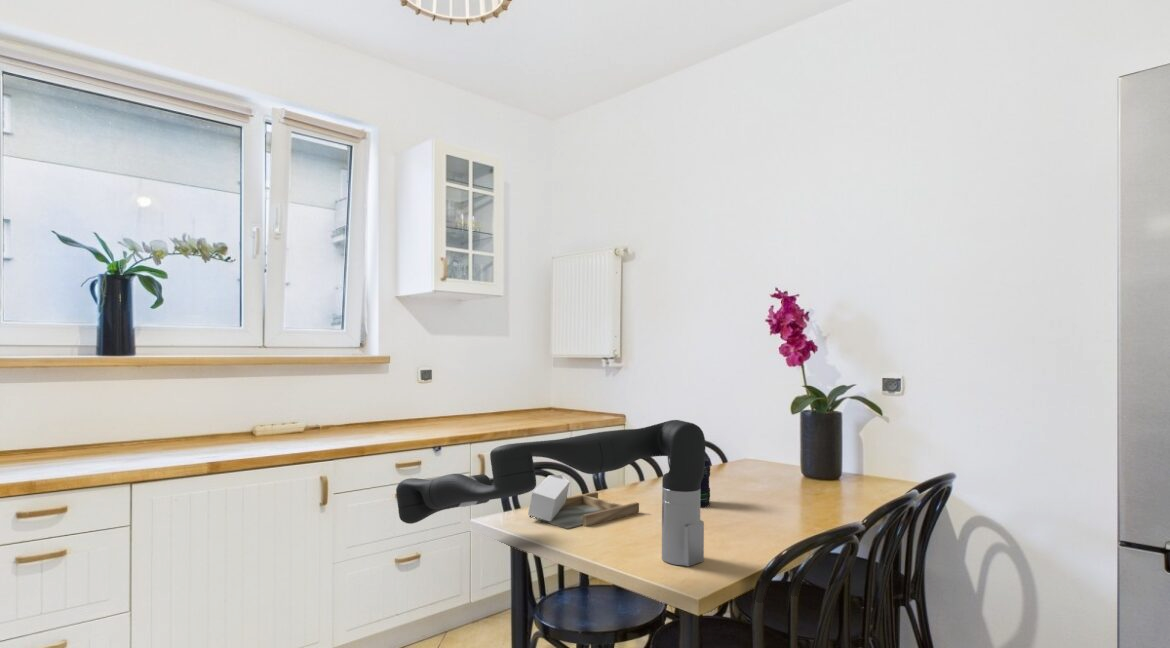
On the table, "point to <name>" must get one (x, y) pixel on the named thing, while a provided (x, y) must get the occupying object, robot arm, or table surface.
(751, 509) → the table surface
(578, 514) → the tray
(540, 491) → the milk carton
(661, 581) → the table surface
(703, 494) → the dark blue barrel
